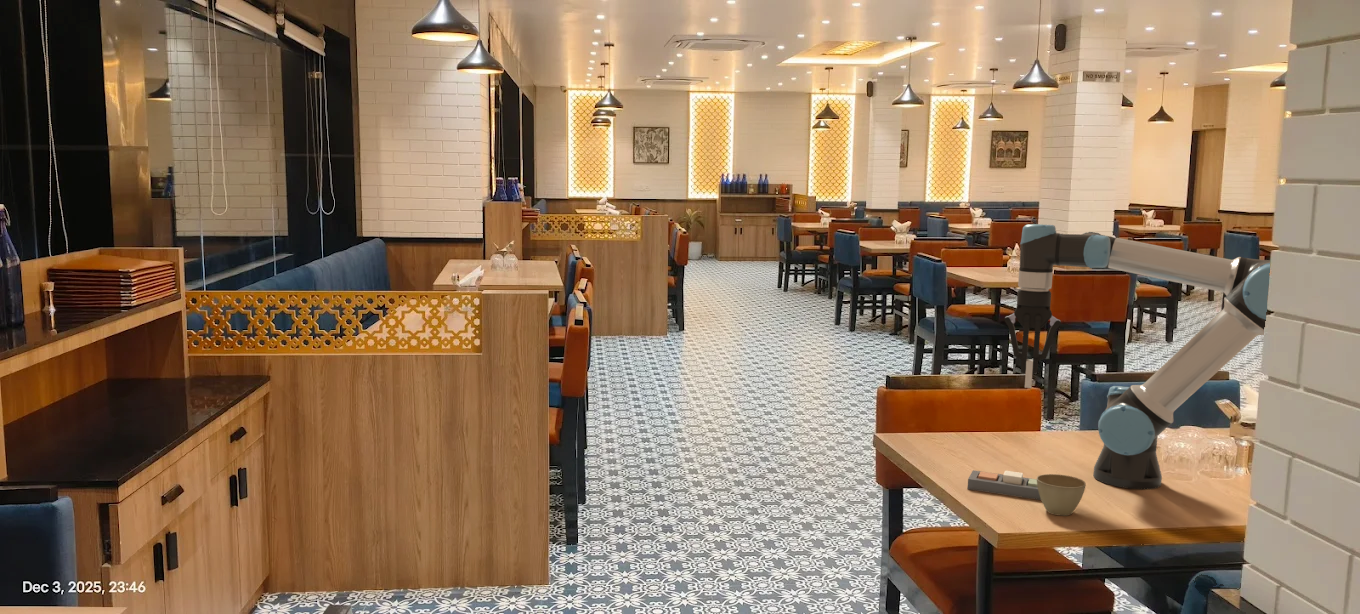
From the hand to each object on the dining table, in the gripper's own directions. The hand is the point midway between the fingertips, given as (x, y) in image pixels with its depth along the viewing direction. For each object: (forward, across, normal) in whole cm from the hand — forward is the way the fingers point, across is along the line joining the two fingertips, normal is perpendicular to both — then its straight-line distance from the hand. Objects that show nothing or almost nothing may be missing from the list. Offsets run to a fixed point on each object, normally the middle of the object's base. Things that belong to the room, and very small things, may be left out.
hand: (1028, 386), depth 234 cm
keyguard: (+23, +2, +12) cm, 26 cm away
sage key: (+22, -4, +12) cm, 26 cm away
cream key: (+21, +2, +12) cm, 24 cm away
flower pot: (+23, -8, +23) cm, 34 cm away
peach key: (+22, +7, +11) cm, 26 cm away
